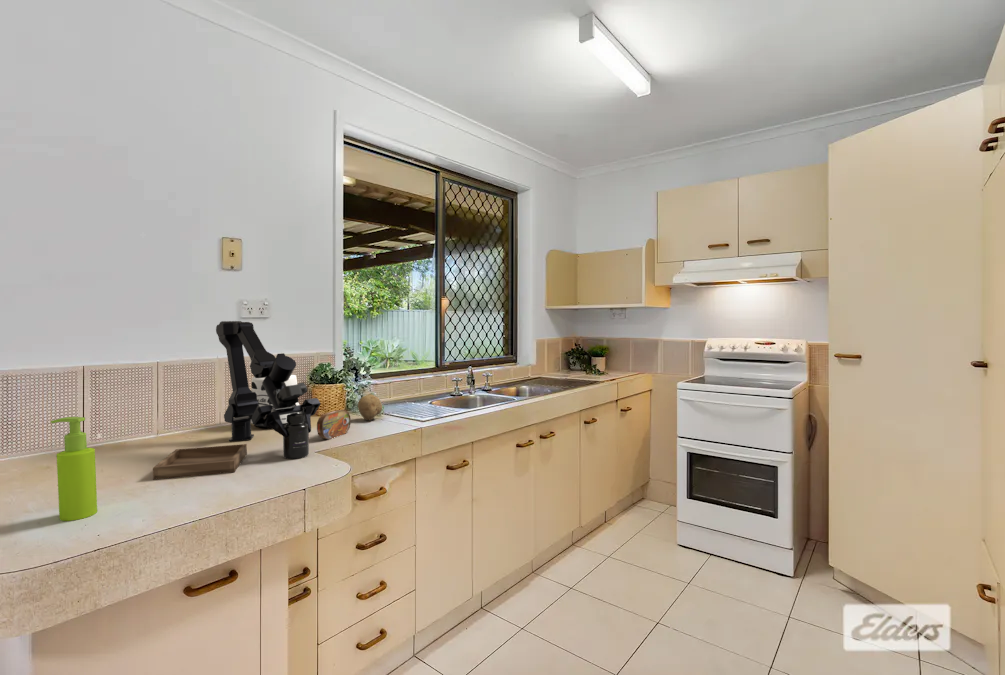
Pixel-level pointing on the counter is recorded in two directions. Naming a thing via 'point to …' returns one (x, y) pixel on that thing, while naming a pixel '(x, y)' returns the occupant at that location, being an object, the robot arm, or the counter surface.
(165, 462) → the walnut tray
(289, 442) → the supplement bottle
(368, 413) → the brown potato
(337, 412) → the tin
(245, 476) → the counter surface
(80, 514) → the soap dispenser
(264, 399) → the milk container
